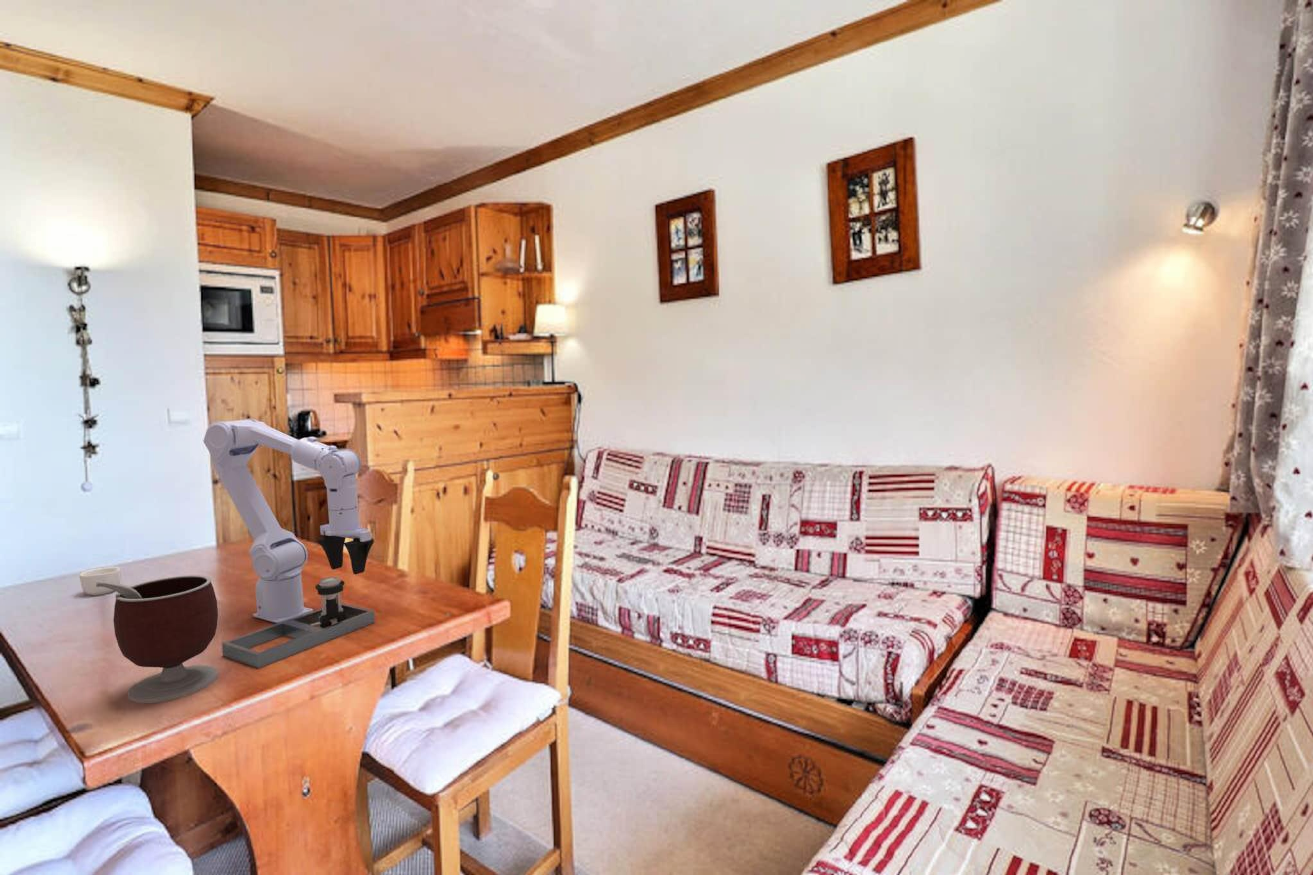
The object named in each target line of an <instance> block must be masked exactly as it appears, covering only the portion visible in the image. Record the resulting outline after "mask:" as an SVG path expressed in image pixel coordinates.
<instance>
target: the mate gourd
mask: <svg viewBox="0 0 1313 875" xmlns="http://www.w3.org/2000/svg"><path fill="white" fill-rule="evenodd" d="M96 587H106V588H110V589H112V590H114V591H115V592H117V593H116V594H115V602H114V610H113V619H112V620H113V628H114V629H113V630H114V636H115V639H116V642H117V644H118V647H119V650H120V652H121V655H123V657H124V658H126V659H127V660H129V661H130V662H131V663H133V664H134V665H135V666H137V667H142V668H162V670H161V672H158V673H155V674H153V675H151V676H147V677H145V678H144V679H141V680H139V681H138V682H136V683H135V684H133V685H132V686H131V687H130V688H129V690H128V691H127V697H128V700H129V701H131V702H133V703H137V704H153V703H162V702H167V701H172V700H175V699H180V698H183V697H185V696H189V695H191V694H194V693H197V692H199V691H201V690H203V689H205V688H207V687H208V686H211V685H212V684H213V683H214V682H215V681H216V680H217V679H218V677H219V672H218V669H217V668H216V667H214V666H211V665H204V664H203V665H202V664H200V665H198V664H197V665H188V666H187V665H186V666H184V665H183V663H185V662H187V661H189V660H190V659H193V658H194V657H196V656H199V655H200V654H203V652H204V651H205V650H207V648H208V647H209V645H210V643H212V640H213V639H214V638H215V636H216V632H217V628H218V618H219V610H218V609H219V608H218V599H217V596H216V592H215V589H214V586H213V583H212V579H211V577H209V576H208V575H207V576H205V575H198V574H197V575H196V574H195V575H193V574H191V575H177V576H169V577H163V578H159V579H153V580H150V581H144V582H141V583H137V584H135V585H131V586H128V585H125V584H121V583H120V584H115V583H109V582H97V584H96Z"/></svg>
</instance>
